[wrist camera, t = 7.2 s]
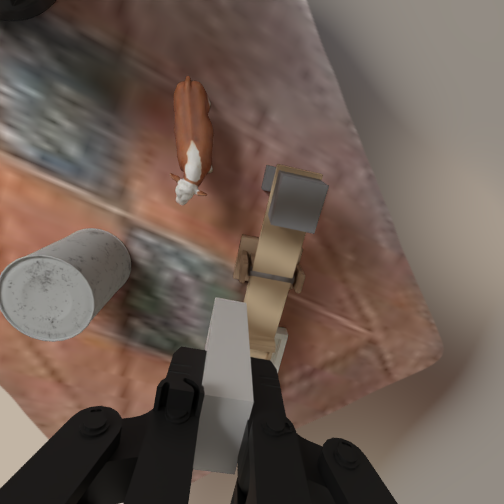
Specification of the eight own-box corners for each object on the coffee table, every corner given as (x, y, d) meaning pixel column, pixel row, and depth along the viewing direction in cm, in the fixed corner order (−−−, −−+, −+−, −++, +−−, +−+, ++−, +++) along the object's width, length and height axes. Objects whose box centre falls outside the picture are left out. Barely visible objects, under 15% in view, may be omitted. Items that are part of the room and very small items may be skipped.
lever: (274, 163, 36) (279, 169, 31) (323, 174, 36) (335, 181, 32) (228, 353, 45) (227, 380, 40) (268, 359, 45) (271, 387, 41)
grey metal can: (145, 257, 45) (112, 292, 33) (106, 306, 47) (63, 357, 35) (84, 213, 43) (26, 235, 31) (46, 267, 45) (-22, 307, 33)
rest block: (266, 165, 42) (268, 165, 40) (310, 175, 43) (315, 176, 40) (261, 188, 43) (262, 189, 41) (304, 197, 44) (308, 200, 41)
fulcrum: (242, 234, 45) (243, 248, 38) (300, 246, 45) (312, 261, 39) (233, 274, 46) (232, 295, 39) (290, 285, 47) (299, 307, 40)
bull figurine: (179, 198, 43) (166, 207, 35) (181, 85, 39) (168, 68, 31) (212, 200, 43) (207, 210, 35) (218, 89, 39) (213, 72, 32)
